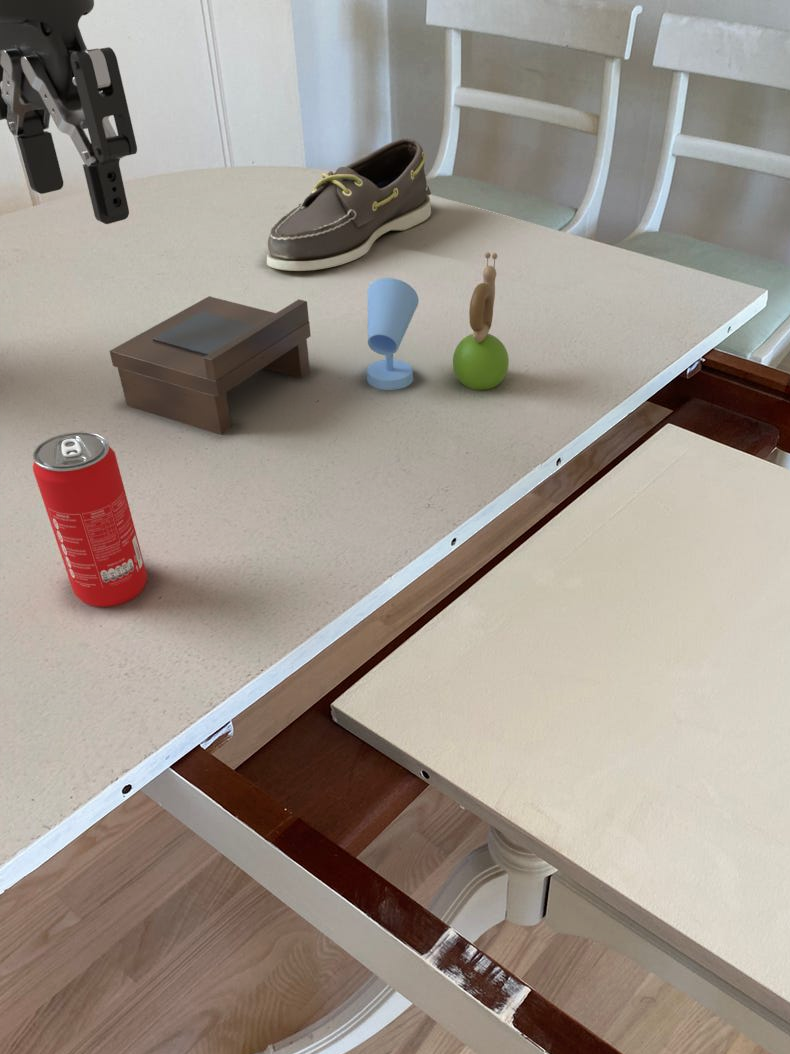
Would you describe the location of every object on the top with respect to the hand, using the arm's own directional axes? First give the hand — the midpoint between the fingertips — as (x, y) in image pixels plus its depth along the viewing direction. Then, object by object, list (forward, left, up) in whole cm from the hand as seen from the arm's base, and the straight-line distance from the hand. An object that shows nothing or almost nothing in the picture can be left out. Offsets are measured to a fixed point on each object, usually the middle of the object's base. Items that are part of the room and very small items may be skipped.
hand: (80, 205), depth 68 cm
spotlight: (+10, +24, -22) cm, 35 cm away
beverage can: (+9, -14, -22) cm, 27 cm away
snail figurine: (+18, +28, -22) cm, 40 cm away
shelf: (-3, +14, -22) cm, 27 cm away
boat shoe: (-14, +55, -22) cm, 62 cm away
